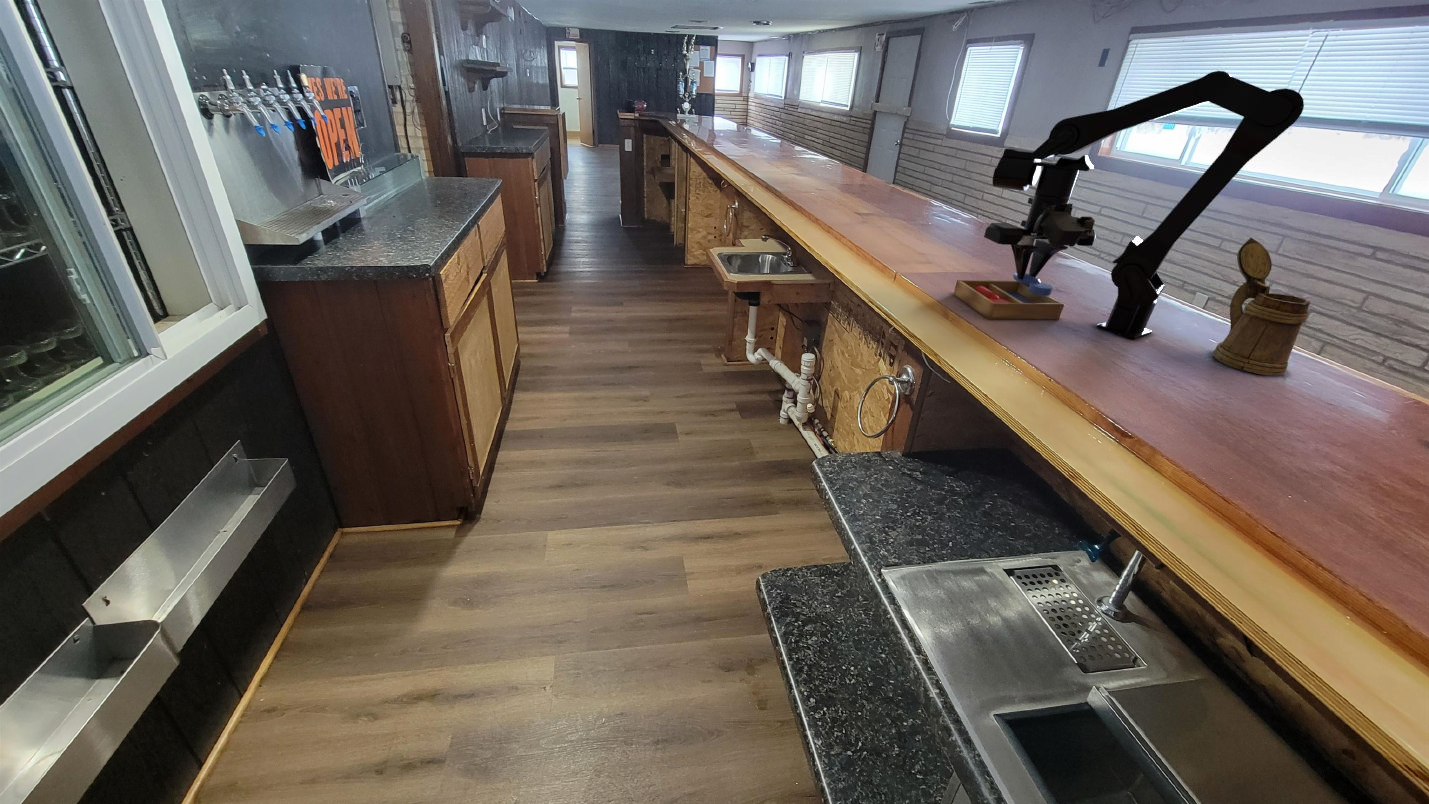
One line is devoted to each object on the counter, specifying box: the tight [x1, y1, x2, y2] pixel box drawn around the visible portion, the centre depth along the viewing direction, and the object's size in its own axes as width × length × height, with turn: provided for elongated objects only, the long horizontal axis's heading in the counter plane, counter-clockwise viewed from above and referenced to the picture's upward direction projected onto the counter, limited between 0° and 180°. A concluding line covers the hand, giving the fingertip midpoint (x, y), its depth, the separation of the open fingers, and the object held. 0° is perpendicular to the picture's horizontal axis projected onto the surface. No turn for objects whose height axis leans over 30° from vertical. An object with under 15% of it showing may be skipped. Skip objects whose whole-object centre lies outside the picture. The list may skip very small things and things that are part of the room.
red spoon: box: [975, 286, 1010, 303], centre depth 109 cm, size 10×4×2 cm, turn 6°
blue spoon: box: [1013, 271, 1054, 296], centre depth 108 cm, size 10×4×2 cm, turn 6°
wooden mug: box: [1212, 237, 1311, 376], centre depth 88 cm, size 9×14×18 cm, turn 10°
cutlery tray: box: [953, 279, 1065, 320], centre depth 110 cm, size 14×14×3 cm
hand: (1025, 279), depth 109 cm, fingers closed on blue spoon, 2 cm apart
